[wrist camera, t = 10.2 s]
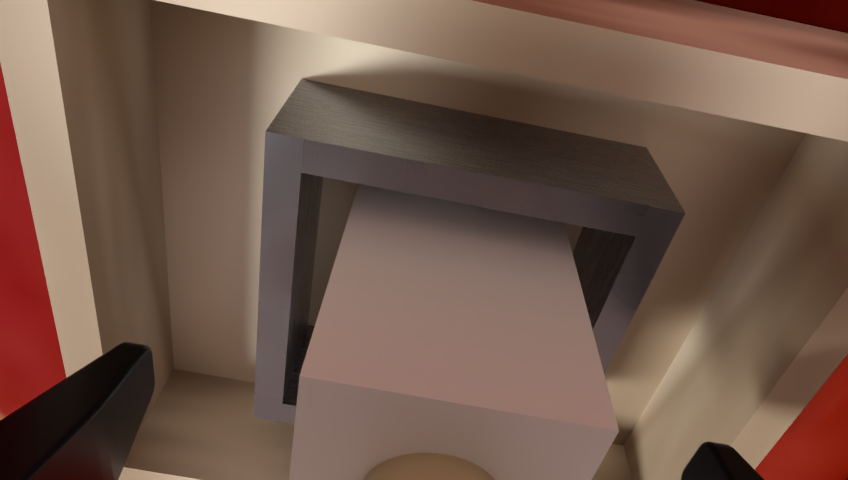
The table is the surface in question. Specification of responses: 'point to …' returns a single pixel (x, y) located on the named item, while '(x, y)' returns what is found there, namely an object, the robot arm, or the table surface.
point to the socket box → (436, 195)
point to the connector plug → (451, 351)
